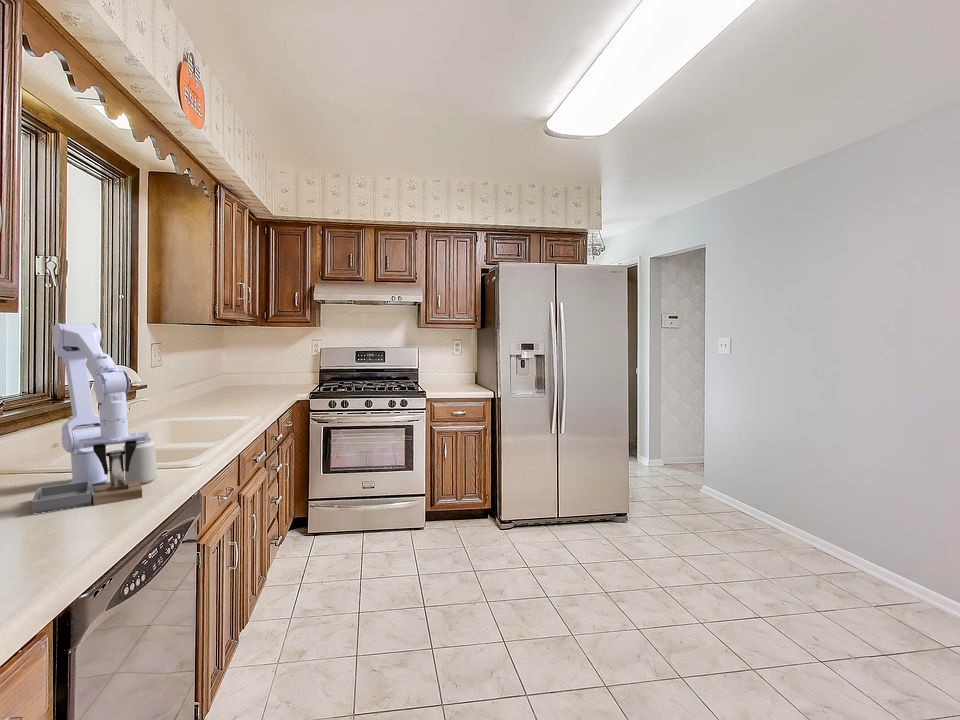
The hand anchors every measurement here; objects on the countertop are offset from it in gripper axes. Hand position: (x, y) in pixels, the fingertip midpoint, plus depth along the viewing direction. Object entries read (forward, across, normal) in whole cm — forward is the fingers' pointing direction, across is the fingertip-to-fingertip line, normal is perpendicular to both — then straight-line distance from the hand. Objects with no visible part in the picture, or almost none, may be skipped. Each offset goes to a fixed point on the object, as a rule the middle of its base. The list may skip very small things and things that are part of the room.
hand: (116, 472), depth 137 cm
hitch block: (+6, 0, 0) cm, 6 cm away
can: (+6, +6, +11) cm, 14 cm away
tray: (+6, -11, +2) cm, 13 cm away
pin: (+3, 0, 0) cm, 3 cm away
